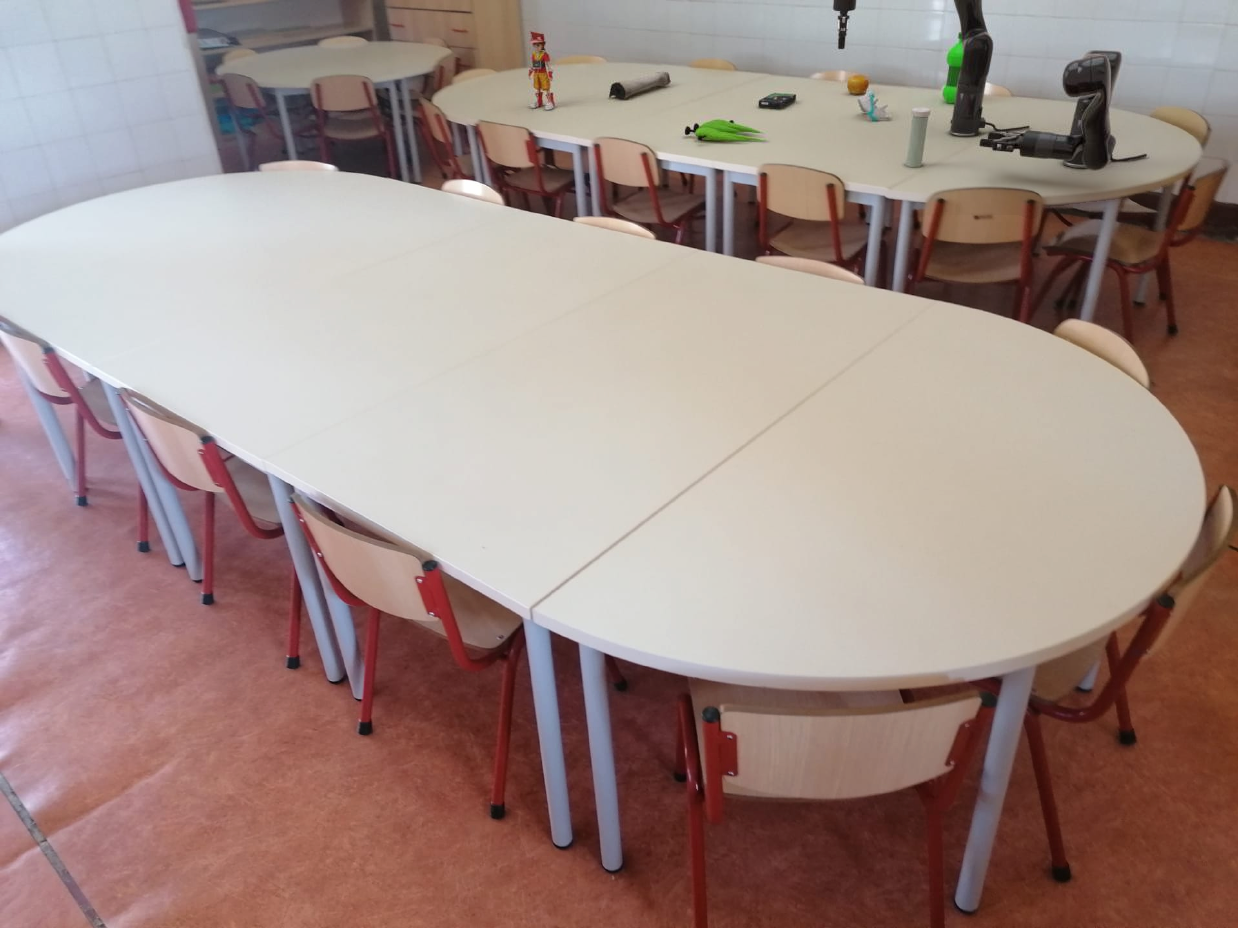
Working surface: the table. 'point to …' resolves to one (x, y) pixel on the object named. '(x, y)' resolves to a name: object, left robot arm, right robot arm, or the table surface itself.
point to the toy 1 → (541, 71)
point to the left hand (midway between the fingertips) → (841, 46)
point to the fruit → (857, 84)
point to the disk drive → (777, 100)
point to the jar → (917, 141)
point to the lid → (920, 112)
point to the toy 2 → (721, 131)
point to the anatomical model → (872, 107)
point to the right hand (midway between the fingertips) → (984, 139)
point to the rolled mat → (638, 84)
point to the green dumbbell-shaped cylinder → (953, 70)
